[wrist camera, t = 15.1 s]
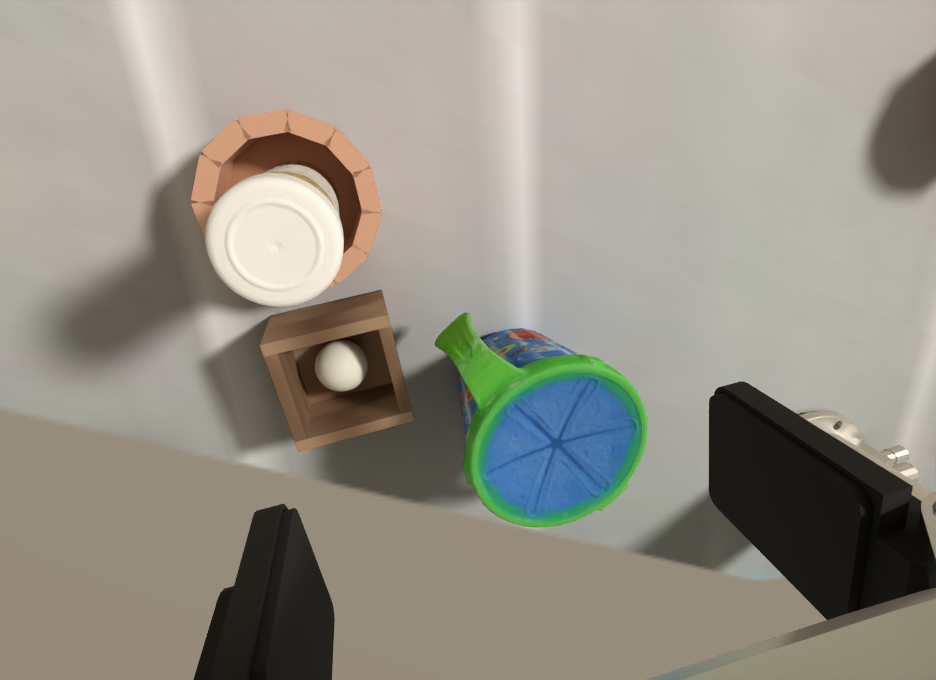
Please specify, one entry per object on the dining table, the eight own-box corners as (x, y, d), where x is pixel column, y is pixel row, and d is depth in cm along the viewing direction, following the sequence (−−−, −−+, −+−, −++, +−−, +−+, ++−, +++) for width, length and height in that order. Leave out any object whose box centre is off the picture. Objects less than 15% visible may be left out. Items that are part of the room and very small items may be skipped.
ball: (359, 327, 34) (361, 345, 31) (371, 371, 35) (374, 392, 32) (309, 339, 33) (306, 359, 30) (323, 383, 34) (322, 406, 32)
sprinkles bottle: (277, 250, 31) (238, 327, 19) (243, 172, 29) (175, 200, 17) (352, 226, 31) (362, 286, 19) (324, 148, 29) (314, 158, 17)
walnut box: (381, 289, 34) (387, 314, 29) (405, 384, 36) (414, 420, 32) (270, 315, 33) (259, 345, 28) (303, 411, 35) (298, 452, 31)
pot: (353, 100, 29) (354, 96, 26) (389, 256, 33) (395, 271, 29) (186, 130, 28) (163, 130, 25) (243, 288, 32) (230, 309, 28)
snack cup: (615, 401, 41) (695, 480, 32) (508, 481, 42) (555, 582, 32) (509, 244, 34) (571, 286, 25) (382, 341, 35) (397, 417, 26)
